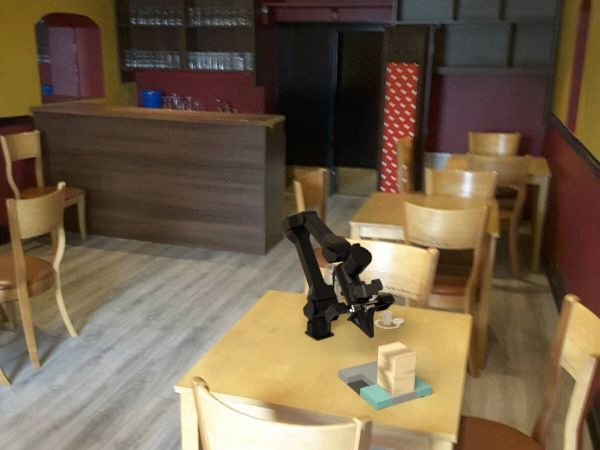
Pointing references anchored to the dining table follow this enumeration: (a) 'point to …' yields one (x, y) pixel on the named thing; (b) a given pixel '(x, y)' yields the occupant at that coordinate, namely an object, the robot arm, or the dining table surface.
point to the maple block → (396, 368)
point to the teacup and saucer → (389, 320)
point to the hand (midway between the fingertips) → (372, 337)
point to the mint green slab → (383, 400)
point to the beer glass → (333, 280)
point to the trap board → (369, 380)
